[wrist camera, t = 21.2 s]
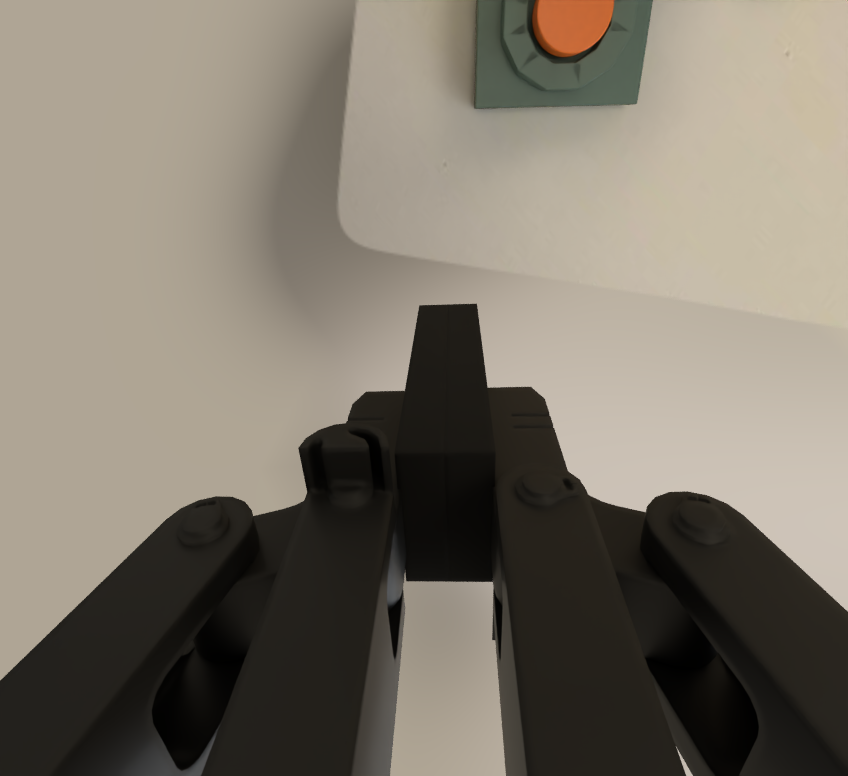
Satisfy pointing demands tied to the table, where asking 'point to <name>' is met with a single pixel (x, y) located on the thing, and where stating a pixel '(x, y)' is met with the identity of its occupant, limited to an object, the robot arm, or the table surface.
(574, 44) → the button
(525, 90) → the control block
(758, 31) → the table surface
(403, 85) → the table surface
